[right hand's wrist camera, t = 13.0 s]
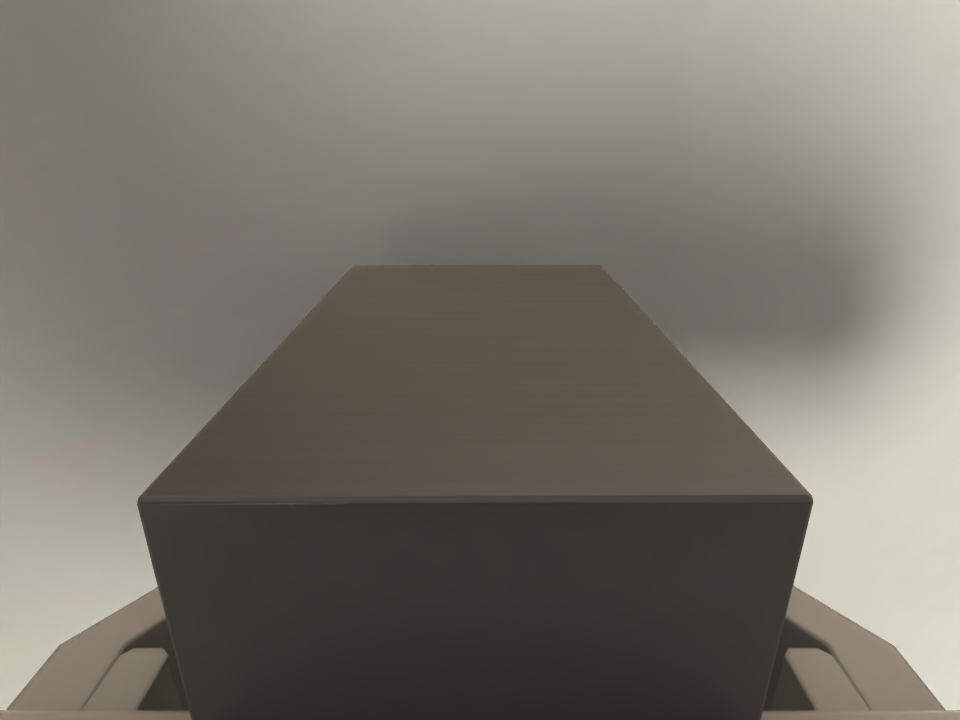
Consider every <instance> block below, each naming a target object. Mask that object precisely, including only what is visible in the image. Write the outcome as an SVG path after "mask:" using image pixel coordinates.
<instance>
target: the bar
mask: <svg viewBox="0 0 960 720" xmlns="http://www.w3.org/2000/svg"><path fill="white" fill-rule="evenodd" d="M137 505H138V509H139V513H140V517H141V521H142V525H143V529H144V533H145V537H146V541H147V545H148V549H149V553H150V557H151V561H152V565H153V569H154V573H155V577H156V581H157V585H158V589H159V592H160V596H161V600H162V604H163V608H164V612H165V616H166V620H167V624H168V628H169V632H170V636H171V640H172V644H173V648H174V652H175V656H176V660H177V664H178V668H179V672H180V676H181V680H182V684H183V688H184V692H185V696H186V700H187V704H188V708H189V712H190V716H191V720H761V716H762V712H763V707H764V703H765V699H766V695H767V691H768V687H769V683H770V678H771V674H772V670H773V666H774V662H775V658H776V654H777V650H778V645H779V641H780V637H781V633H782V629H783V625H784V621H785V616H786V612H787V608H788V604H789V600H790V596H791V592H792V587H793V583H794V579H795V575H796V571H797V567H798V563H799V559H800V554H801V550H802V546H803V542H804V538H805V534H806V530H807V525H808V521H809V517H810V513H811V509H812V505H813V499H812V496H811V494H810V493H809V492H808V491H807V490H806V489H805V488H804V487H803V486H802V485H801V483H800V482H799V481H798V480H797V479H796V478H795V477H794V476H793V475H792V474H791V473H790V471H789V470H788V469H787V468H786V467H785V466H784V465H783V464H782V463H781V462H780V461H779V459H778V458H777V457H776V456H775V455H774V454H773V453H772V452H771V451H770V450H769V449H768V448H767V446H766V445H765V444H764V443H763V442H762V441H761V440H760V439H759V438H758V437H757V436H756V434H755V433H754V432H753V431H752V430H751V429H750V428H749V427H748V426H747V425H746V424H745V422H744V421H743V420H742V419H741V418H740V417H739V416H738V415H737V414H736V413H735V412H734V411H733V409H732V408H731V407H730V406H729V405H728V404H727V403H726V402H725V401H724V400H723V399H722V397H721V396H720V395H719V394H718V393H717V392H716V391H715V390H714V389H713V388H712V387H711V385H710V384H709V383H708V382H707V381H706V380H705V379H704V378H703V377H702V376H701V375H700V374H699V372H698V371H697V370H696V369H695V368H694V367H693V366H692V365H691V364H690V363H689V362H688V360H687V359H686V358H685V357H684V356H683V355H682V354H681V353H680V352H679V351H678V350H677V348H676V347H675V346H674V345H673V344H672V343H671V342H670V341H669V340H668V339H667V338H666V336H665V335H664V334H663V333H662V332H661V331H660V330H659V329H658V328H657V327H656V326H655V325H654V323H653V322H652V321H651V320H650V319H649V318H648V317H647V316H646V315H645V314H644V313H643V311H642V310H641V309H640V308H639V307H638V306H637V305H636V304H635V303H634V302H633V301H632V299H631V298H630V297H629V296H628V295H627V294H626V293H625V292H624V291H623V290H622V289H621V288H620V286H619V285H618V284H617V283H616V282H615V281H614V280H613V279H612V278H611V277H610V276H609V274H608V273H607V272H606V271H605V270H604V269H603V268H602V267H601V266H599V265H576V266H353V267H352V268H351V269H350V270H349V271H348V272H347V274H346V275H345V276H344V277H343V278H342V279H341V280H340V281H339V282H338V283H337V284H336V285H335V286H334V288H333V289H332V290H331V291H330V292H329V293H328V294H327V295H326V296H325V297H324V298H323V299H322V300H321V302H320V303H319V304H318V305H317V306H316V307H315V308H314V309H313V310H312V311H311V312H310V313H309V315H308V316H307V317H306V318H305V319H304V320H303V321H302V322H301V323H300V324H299V325H298V326H297V327H296V329H295V330H294V331H293V332H292V333H291V334H290V335H289V336H288V337H287V338H286V339H285V340H284V341H283V343H282V344H281V345H280V346H279V347H278V348H277V349H276V350H275V351H274V352H273V353H272V354H271V355H270V357H269V358H268V359H267V360H266V361H265V362H264V363H263V364H262V365H261V366H260V367H259V368H258V370H257V371H256V372H255V373H254V374H253V375H252V376H251V377H250V378H249V379H248V380H247V381H246V382H245V384H244V385H243V386H242V387H241V388H240V389H239V390H238V391H237V392H236V393H235V394H234V395H233V396H232V398H231V399H230V400H229V401H228V402H227V403H226V404H225V405H224V406H223V407H222V408H221V409H220V410H219V412H218V413H217V414H216V415H215V416H214V417H213V418H212V419H211V420H210V421H209V422H208V423H207V425H206V426H205V427H204V428H203V429H202V430H201V431H200V432H199V433H198V434H197V435H196V436H195V437H194V439H193V440H192V441H191V442H190V443H189V444H188V445H187V446H186V447H185V448H184V449H183V450H182V451H181V453H180V454H179V455H178V456H177V457H176V458H175V459H174V460H173V461H172V462H171V463H170V464H169V466H168V467H167V468H166V469H165V470H164V471H163V472H162V473H161V474H160V475H159V476H158V477H157V478H156V480H155V481H154V482H153V483H152V484H151V485H150V486H149V487H148V488H147V489H146V490H145V491H144V492H143V494H142V495H141V496H140V497H139V499H138V504H137Z"/></svg>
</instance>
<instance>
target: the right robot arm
mask: <svg viewBox="0 0 960 720" xmlns="http://www.w3.org/2000/svg"><path fill="white" fill-rule="evenodd" d="M0 720H191V716H190V712H189V708H188V704H187V700H186V696H185V692H184V688H183V684H182V680H181V676H180V672H179V668H178V664H177V660H176V656H175V652H174V648H173V644H172V640H171V636H170V632H169V628H168V624H167V620H166V616H165V612H164V608H163V604H162V600H161V596H160V592H159V589H158V587H157V588H155V589H154V590H152V591H150V592H149V593H147V594H145V595H144V596H142V597H140V598H139V599H137V600H135V601H133V602H132V603H130V604H128V605H127V606H125V607H123V608H122V609H120V610H118V611H117V612H115V613H113V614H112V615H110V616H108V617H106V618H105V619H103V620H101V621H100V622H98V623H96V624H95V625H93V626H91V627H90V628H88V629H86V630H84V631H83V632H81V633H79V634H78V635H76V636H74V637H73V638H71V639H69V640H68V641H66V642H64V643H62V644H61V645H59V646H58V648H57V649H56V650H55V651H54V652H53V654H52V655H51V656H50V657H49V658H48V660H47V661H46V662H45V663H44V665H43V666H42V667H41V668H40V669H39V671H38V672H37V673H36V674H35V675H34V677H33V678H32V679H31V680H30V682H29V683H28V684H27V685H26V686H25V688H24V689H23V690H22V691H21V692H20V694H19V695H18V696H17V697H16V699H15V700H14V701H13V702H12V703H11V705H10V706H9V707H8V708H7V710H0ZM761 720H960V710H945V709H944V707H943V706H942V705H941V704H940V702H939V701H938V700H937V699H936V697H935V696H934V695H933V694H932V692H931V691H930V690H929V689H928V687H927V686H926V685H925V684H924V682H923V681H922V680H921V679H920V677H919V676H918V675H917V674H916V672H915V671H914V670H913V669H912V667H911V666H910V665H909V664H908V662H907V661H906V660H905V659H904V657H903V656H902V655H901V654H900V653H899V651H898V650H897V649H896V648H895V646H893V645H891V644H890V643H888V642H886V641H885V640H883V639H881V638H880V637H878V636H876V635H875V634H873V633H871V632H870V631H868V630H866V629H865V628H863V627H861V626H860V625H858V624H856V623H855V622H853V621H851V620H850V619H848V618H846V617H845V616H843V615H841V614H840V613H838V612H836V611H835V610H833V609H831V608H830V607H828V606H826V605H825V604H823V603H821V602H820V601H818V600H816V599H815V598H813V597H811V596H810V595H808V594H806V593H805V592H803V591H801V590H800V589H798V588H796V587H795V586H793V587H792V592H791V596H790V600H789V604H788V608H787V612H786V616H785V621H784V625H783V629H782V633H781V637H780V641H779V645H778V650H777V654H776V658H775V662H774V666H773V670H772V674H771V678H770V683H769V687H768V691H767V695H766V699H765V703H764V707H763V712H762V716H761Z"/></svg>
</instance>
